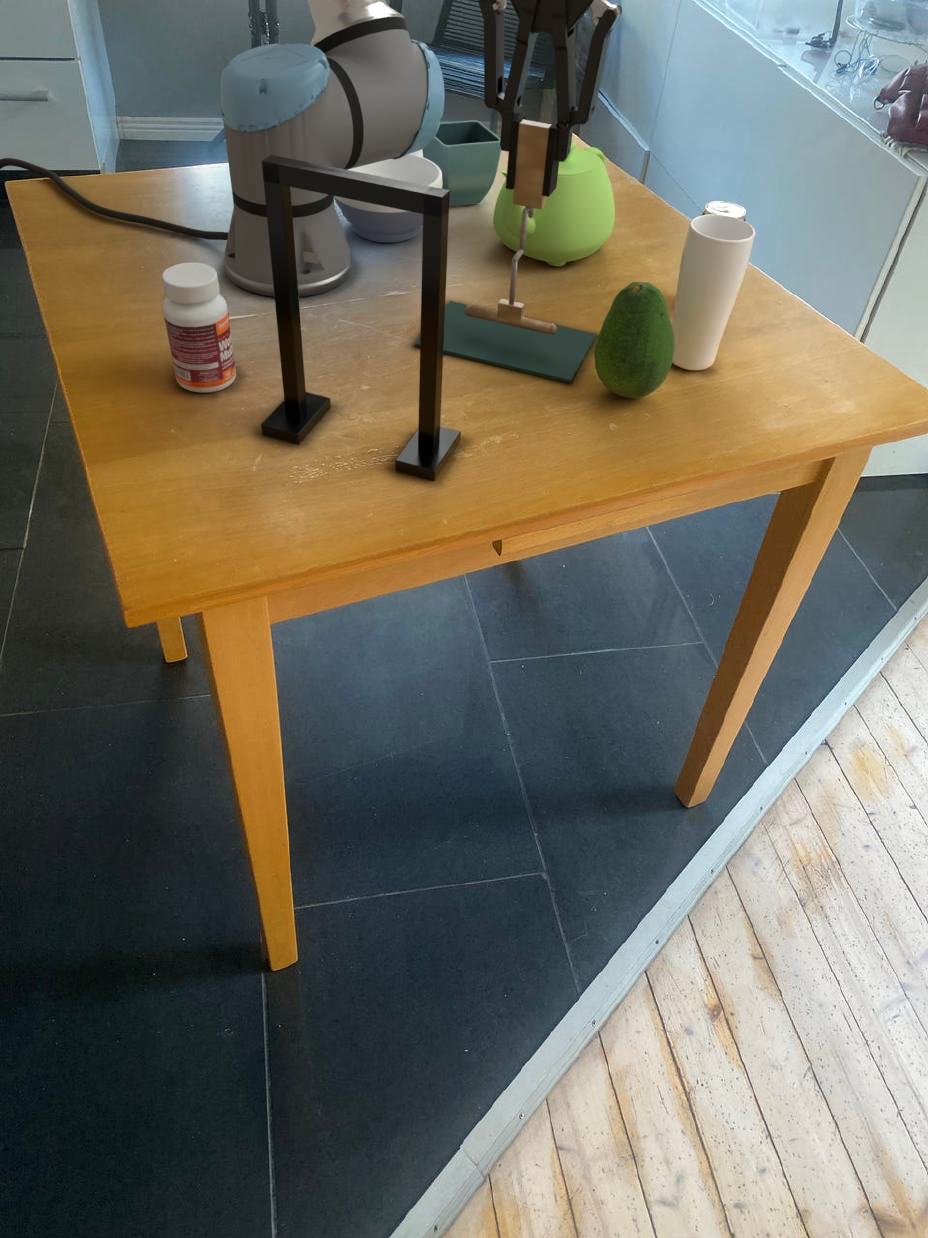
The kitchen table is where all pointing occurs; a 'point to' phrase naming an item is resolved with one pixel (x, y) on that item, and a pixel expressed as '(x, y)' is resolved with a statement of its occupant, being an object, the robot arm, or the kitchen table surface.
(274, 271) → the rack
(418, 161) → the bowl
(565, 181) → the teapot
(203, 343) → the pill bottle
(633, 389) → the fruit
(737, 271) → the drinking glass
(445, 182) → the flower pot
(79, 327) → the kitchen table surface
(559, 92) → the robot arm
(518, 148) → the hanger
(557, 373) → the mat
